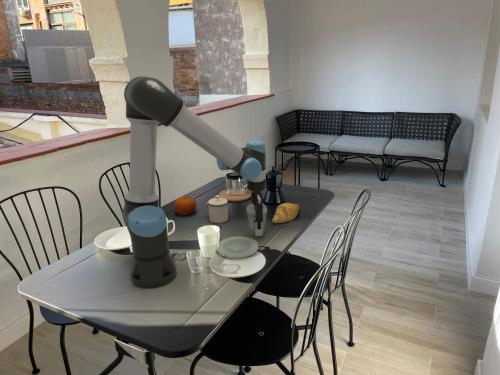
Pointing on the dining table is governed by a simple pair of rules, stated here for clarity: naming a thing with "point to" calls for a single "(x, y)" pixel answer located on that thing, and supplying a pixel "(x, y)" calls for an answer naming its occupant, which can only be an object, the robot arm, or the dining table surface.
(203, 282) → the dining table surface
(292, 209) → the croissant
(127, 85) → the robot arm
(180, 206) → the fruit
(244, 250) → the saucer
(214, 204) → the teacup with lid
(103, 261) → the dining table surface
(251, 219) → the coffee cup
